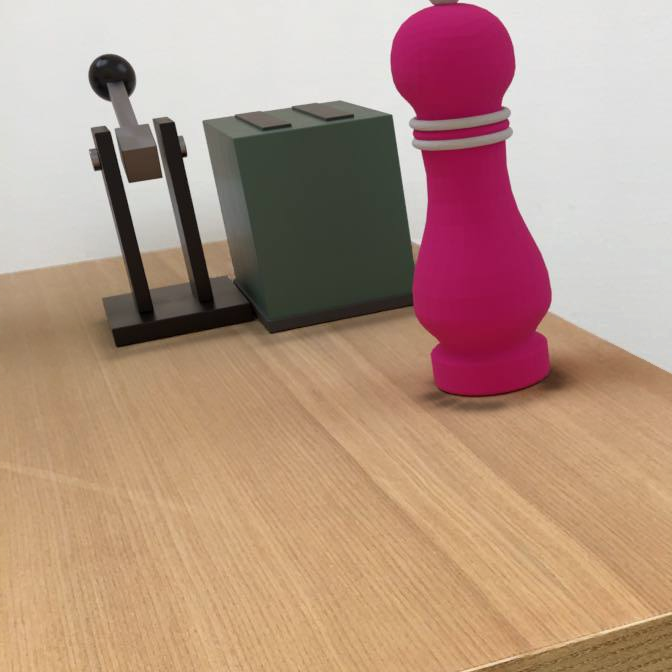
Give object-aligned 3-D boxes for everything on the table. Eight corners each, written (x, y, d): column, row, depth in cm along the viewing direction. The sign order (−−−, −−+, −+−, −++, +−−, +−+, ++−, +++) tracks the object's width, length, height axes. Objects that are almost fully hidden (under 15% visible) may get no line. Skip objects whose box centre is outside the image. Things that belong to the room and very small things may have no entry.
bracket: (105, 314, 88) (57, 128, 82) (231, 290, 90) (192, 109, 85) (116, 347, 79) (62, 142, 74) (254, 320, 82) (212, 120, 76)
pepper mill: (398, 391, 65) (331, -21, 56) (479, 350, 70) (430, -33, 62) (507, 406, 61) (453, -34, 52) (585, 362, 66) (548, -46, 58)
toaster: (234, 289, 91) (197, 117, 85) (370, 264, 94) (342, 96, 88) (269, 333, 78) (229, 135, 73) (424, 302, 81) (396, 110, 76)
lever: (90, 91, 88) (80, 48, 85) (135, 85, 89) (127, 42, 86) (122, 190, 80) (112, 146, 78) (171, 182, 81) (163, 138, 79)
